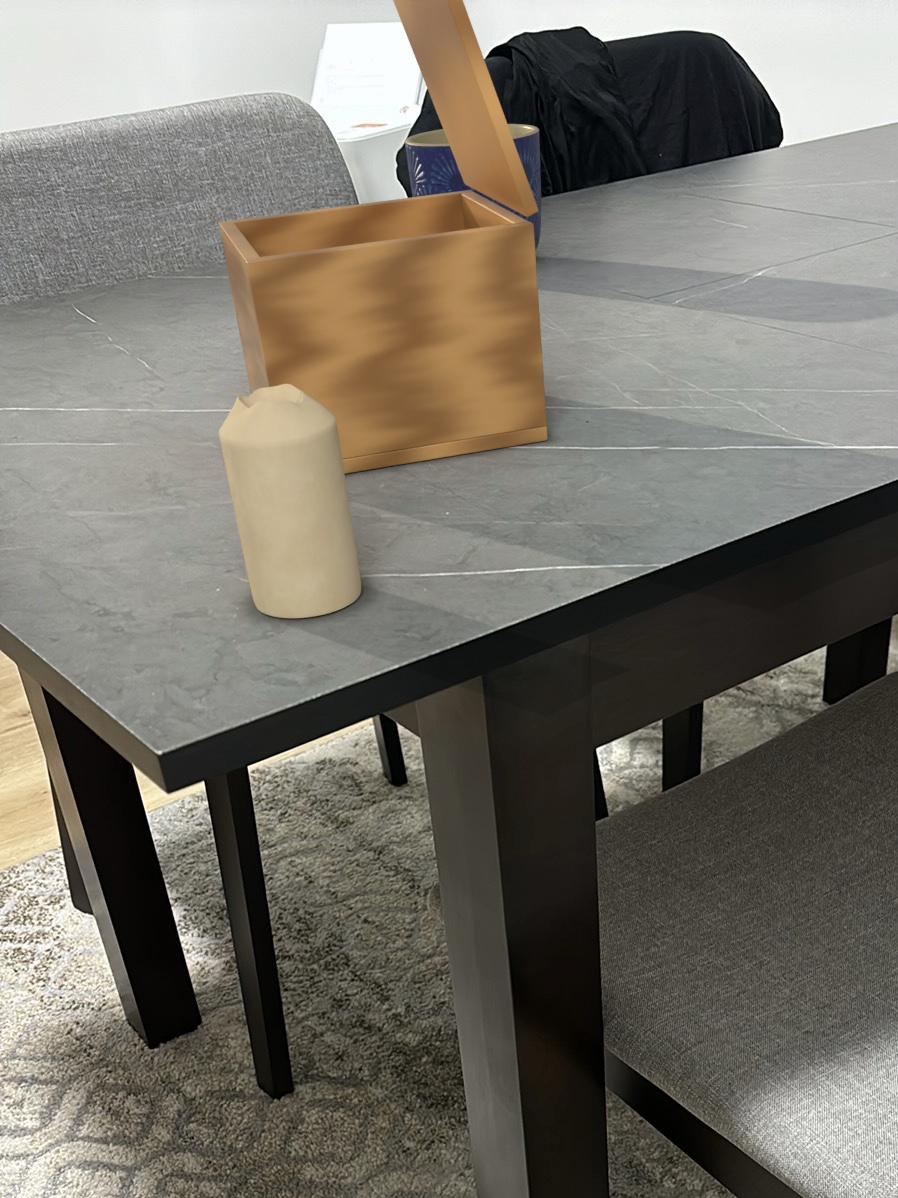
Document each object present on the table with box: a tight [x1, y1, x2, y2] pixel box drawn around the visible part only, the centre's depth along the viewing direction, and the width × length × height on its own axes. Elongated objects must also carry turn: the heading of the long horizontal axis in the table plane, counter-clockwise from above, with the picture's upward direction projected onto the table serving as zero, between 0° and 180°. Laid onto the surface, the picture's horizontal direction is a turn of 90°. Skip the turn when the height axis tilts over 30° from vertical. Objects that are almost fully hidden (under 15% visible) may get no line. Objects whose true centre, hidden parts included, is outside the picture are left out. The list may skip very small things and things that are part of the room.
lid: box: [392, 0, 538, 217], centre depth 80 cm, size 18×15×5 cm
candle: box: [218, 384, 362, 619], centre depth 67 cm, size 6×6×10 cm
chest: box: [218, 190, 548, 475], centre depth 89 cm, size 17×15×12 cm
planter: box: [404, 123, 542, 252], centre depth 131 cm, size 12×12×11 cm
